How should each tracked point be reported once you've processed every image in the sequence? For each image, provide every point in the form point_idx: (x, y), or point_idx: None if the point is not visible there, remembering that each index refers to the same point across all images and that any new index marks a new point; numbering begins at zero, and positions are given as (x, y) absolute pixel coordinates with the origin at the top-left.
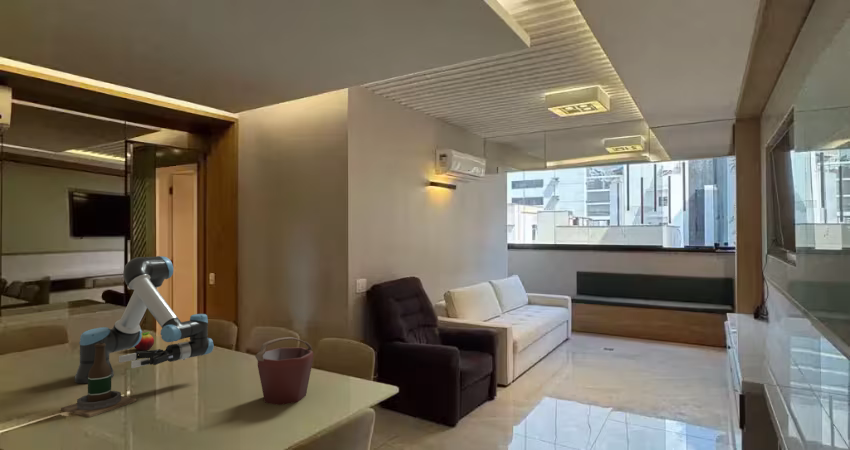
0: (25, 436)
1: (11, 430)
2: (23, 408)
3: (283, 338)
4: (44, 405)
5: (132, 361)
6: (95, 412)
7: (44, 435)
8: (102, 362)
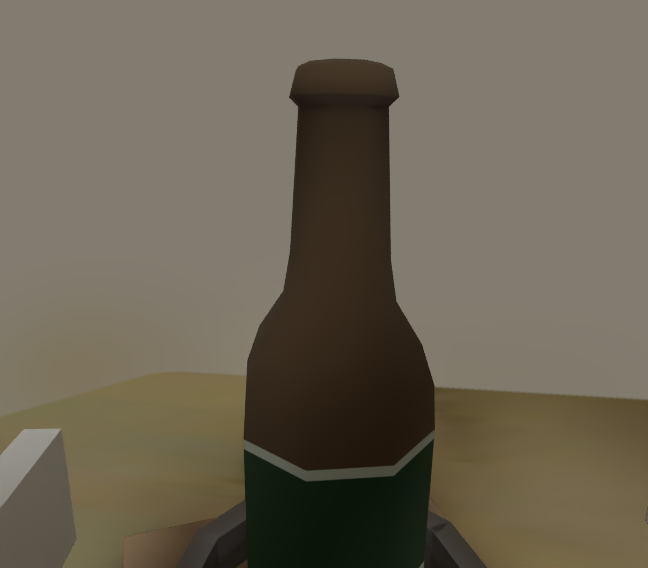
0: (162, 393)
1: None
2: (560, 419)
3: None
4: (566, 463)
5: (19, 434)
6: (126, 564)
7: (99, 417)
8: (287, 280)
